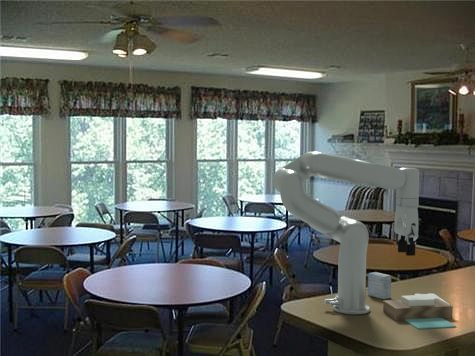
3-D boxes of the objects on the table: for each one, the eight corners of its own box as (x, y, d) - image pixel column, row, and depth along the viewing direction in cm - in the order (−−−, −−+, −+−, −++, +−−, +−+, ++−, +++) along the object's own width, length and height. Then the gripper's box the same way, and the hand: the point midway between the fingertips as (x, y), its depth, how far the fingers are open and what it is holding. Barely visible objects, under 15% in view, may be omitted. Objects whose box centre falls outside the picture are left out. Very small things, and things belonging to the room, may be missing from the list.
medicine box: (391, 298, 214) (391, 275, 214) (383, 299, 212) (383, 276, 211) (375, 293, 221) (375, 271, 220) (367, 295, 218) (367, 273, 218)
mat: (417, 329, 177) (417, 327, 177) (404, 320, 186) (404, 319, 186) (456, 327, 179) (456, 325, 179) (441, 318, 188) (441, 317, 188)
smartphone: (452, 309, 201) (434, 297, 217) (452, 305, 201) (434, 293, 217) (428, 310, 201) (411, 297, 217) (428, 305, 201) (411, 293, 217)
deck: (395, 320, 186) (395, 308, 185) (383, 312, 196) (383, 300, 195) (452, 318, 189) (452, 306, 189) (437, 309, 199) (437, 298, 198)
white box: (408, 306, 188) (409, 300, 188) (401, 301, 194) (401, 295, 194) (434, 305, 190) (434, 299, 190) (425, 300, 196) (425, 294, 196)
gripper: (387, 200, 207) (386, 249, 208) (408, 205, 190) (407, 258, 191) (406, 200, 208) (405, 249, 209) (429, 205, 191) (428, 258, 192)
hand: (406, 253), depth 200 cm, fingers open, 5 cm apart
